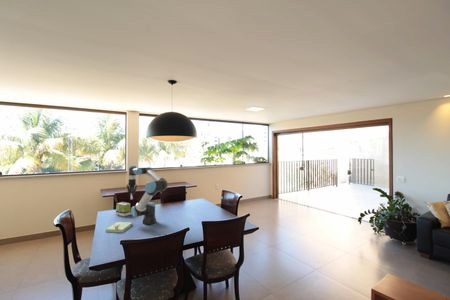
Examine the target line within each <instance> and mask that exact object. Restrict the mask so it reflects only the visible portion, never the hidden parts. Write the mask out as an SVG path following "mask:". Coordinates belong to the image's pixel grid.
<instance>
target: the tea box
mask: <svg viewBox="0 0 450 300" xmlns="http://www.w3.org/2000/svg"><path fill="white" fill-rule="evenodd" d="M115 215H116V216H121V217H127V216H130V215H131V203H129V202H125V201H121V202H116V206H115Z"/></svg>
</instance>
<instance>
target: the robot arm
mask: <svg viewBox="0 0 450 300" xmlns="http://www.w3.org/2000/svg"><path fill="white" fill-rule="evenodd" d="M137 175H138V176H139V175H140V176H141V175H146V176H148V177H149V178H150V179H151V180H150V181H147V182H146V183H145V184H144V186H145V187H144V194H143V195H142V196H141V199H140V200H139V202H137V203H136V204H135V205H133V206H132V207H130V214H131V215H132V216H133V217H134V218H137V217H142V216H143V219H142V224H143V225H144V226H145V225H146V226H147V225H154V224H156V223H157V218H156V203H155V202H151V200H152V198H153V197H154V196H155V195H157V193H158V192H160V193H161V192H164V191H166V189H168V184H169V183H168V181H167V180H166V178H163V177H162V176H161V175H159V174H157V173H156V172H155V171H154V169H153V167H137V166H136V165H129V168H128V183H127V184H126V185H125V186H126V189H127V193H128V194H129V197H130V198H129V199H130V200H134V196H135V195H134V194H136V192H137V188H138V186H139V185H138V184H137V183H136V182H137V179H136V178H137Z"/></svg>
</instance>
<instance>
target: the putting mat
mask: <svg viewBox="0 0 450 300" xmlns="http://www.w3.org/2000/svg"><path fill="white" fill-rule="evenodd" d="M116 225H118V229H115V226H116ZM133 225H134V224H133V222H130V221H128V222H125V221H117V222H115V223H113V224H112V225H110V226H109V227H107V228H105V233H122V234H123V233H124V232H125V231H127V230H128V229H129V228H130V227H132V226H133Z"/></svg>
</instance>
